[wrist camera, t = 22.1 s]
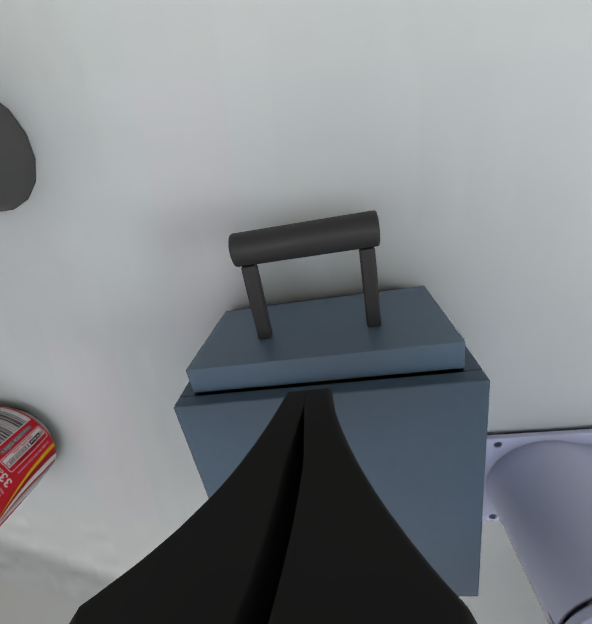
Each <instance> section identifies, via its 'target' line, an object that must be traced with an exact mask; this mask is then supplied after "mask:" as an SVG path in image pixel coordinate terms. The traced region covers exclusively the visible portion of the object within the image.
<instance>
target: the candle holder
mask: <svg viewBox="0 0 592 624" xmlns="http://www.w3.org/2000/svg"><path fill="white" fill-rule="evenodd" d="M35 182H36V181H35V157H34V154H33V152H32V149H31V146H30V143H29V140H28V138H27V135H26V133H25V131H24V130H23V129H22V127H21V126H20V125H19V123H18V122H17V120H16V119H15V118H14V116H13V115H12V113H11V112H10V111H9V110H8V109H7V108H6V107H5V106H3V105H2V104H1V103H0V211H7V210H13V209H15V208H16V207H18V206H19V205H20V204H22V203H23V202H25V201H26V200H27V199H28V198H29V195H30V193H31V191H32V189H33V186H34V184H35Z"/></svg>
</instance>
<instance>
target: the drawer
mask: <svg viewBox="0 0 592 624" xmlns="http://www.w3.org/2000/svg"><path fill="white" fill-rule="evenodd" d="M379 244H380V228H379V220H378V215H377V212H376V211H374V210H373V211H367V212H361V213H355V214H349V215H343V216H337V217H331V218H325V219H318V220H312V221H306V222H300V223H294V224H288V225H282V226H276V227H270V228H264V229H258V230H252V231H245V232H239V233H233V234H231V235H230V236H229V252H230V256H231V259H232V261H233V263H234V265H235V266H237V267H241V266H242V268H241V270H242V274H243V278H244V282H245V286H246V290H247V294H248V298H249V302H250V306H251V308H248V309H240V310H232V311H226V312H225V314H224V315H223V317H222V318H221V320H220V321H219V322H218V324H217V325H216V327H215V328H214V330H213V331H212V333H211V334H210V336H209V337H208V339H207V340H206V342H205V343H204V344H203V346H202V347H201V349H200V350H199V352H198V353H197V355H196V356H195V358H194V359H193V361H192V362H191V364H190V365H189V366H188V368H187V369H186V372H187V375H188V378H189V381H190V383H191V386H192V389H193V392H194V393H198V392H209V391H219V390H225V392H224V393H235V392H246V391H257V390H269V389H280V388H291V387H296V383H306V382H317V381H328V380H339V379H350V378H361V377H367V379H368V380H379V379H390V378H401V377H412V376H424V375H435V374H437V372H436V371H437V370H448V369H459V368H464V367H465V341H464V339H463V338H462V337H461V335H460V334H459V333H458V331H457V330H456V329H455V327H454V326H453V324H452V323H451V322H450V320H449V319H448V318H447V316H446V315H445V314H444V312H443V311H442V310H441V308H440V307H439V305H438V304H437V303H436V301H435V300H434V299H433V297H432V296H431V295H430V293H429V292H428V290H427V289H426V288H425V286H419V287H411V288H403V289H395V290H387V291H380V292H379V291H378V279H377V267H376V256H375V248H374V247H376V246H379ZM355 249H359V254H360V263H361V273H362V283H363V292H364V294H356V295H349V296H341V297H333V298H325V299H318V300H310V301H302V302H294V303H286V304H279V305H271V306H266V301H265V297H264V292H263V288H262V284H261V279H260V275H259V270H258V266H257V264H261V263H268V262H275V261H281V260H288V259H295V258H301V257H308V256H315V255H322V254H328V253H335V252H342V251H349V250H355Z"/></svg>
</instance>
